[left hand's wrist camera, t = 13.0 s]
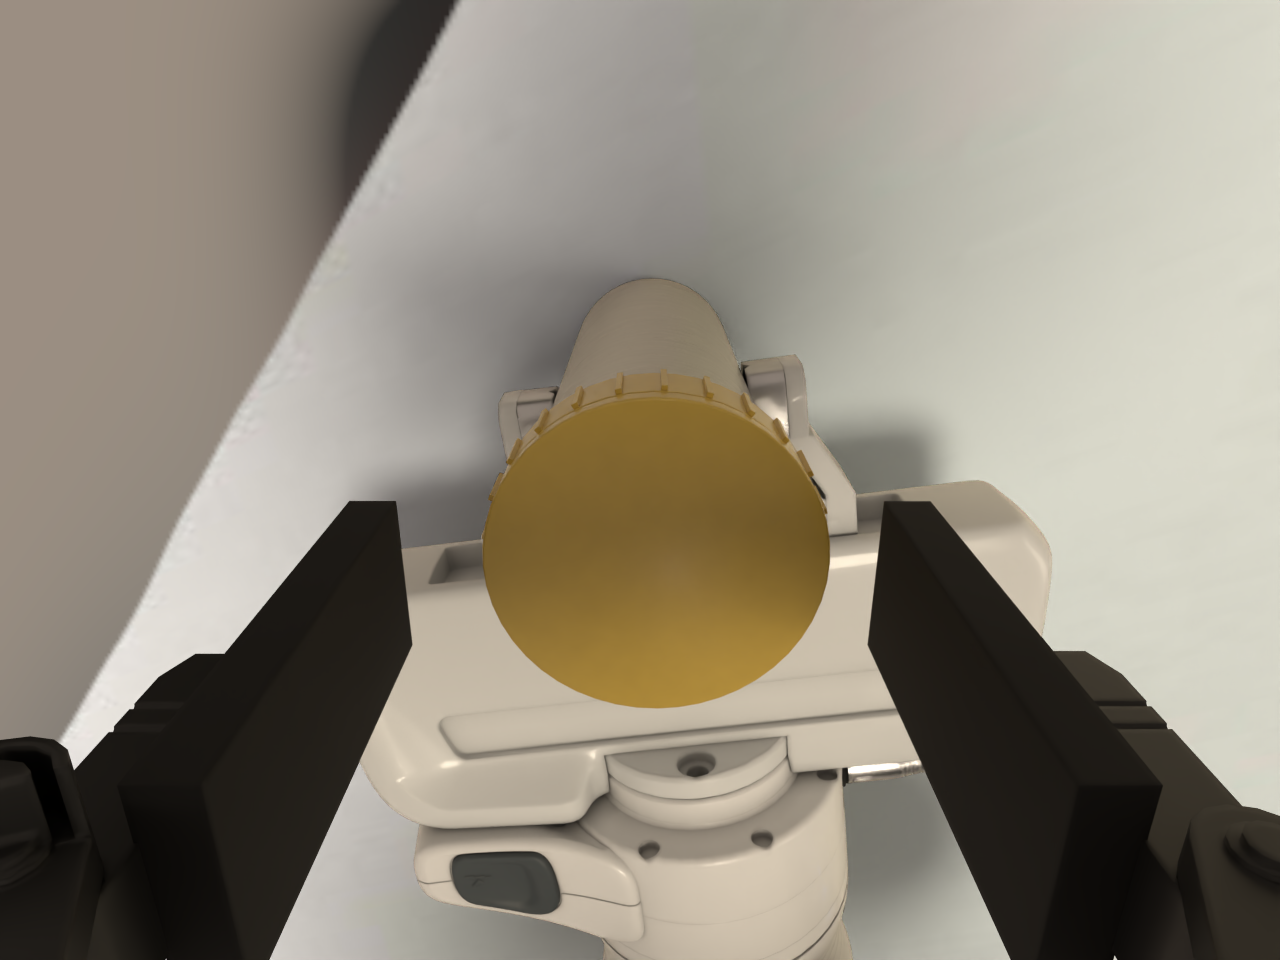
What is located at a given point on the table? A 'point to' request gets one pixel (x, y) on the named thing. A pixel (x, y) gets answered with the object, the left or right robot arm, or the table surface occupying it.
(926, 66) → the table surface
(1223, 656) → the table surface
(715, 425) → the lid
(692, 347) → the jar
